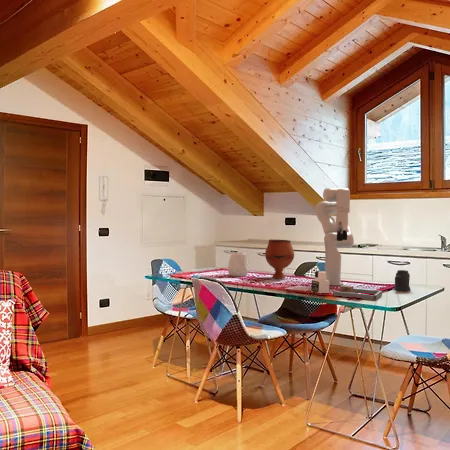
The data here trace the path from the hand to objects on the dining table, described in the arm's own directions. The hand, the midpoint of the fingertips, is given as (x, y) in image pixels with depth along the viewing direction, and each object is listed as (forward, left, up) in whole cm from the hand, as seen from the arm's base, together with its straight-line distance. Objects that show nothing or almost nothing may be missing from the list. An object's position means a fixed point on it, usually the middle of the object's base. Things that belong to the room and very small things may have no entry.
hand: (341, 240), depth 283 cm
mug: (+30, +18, -28) cm, 45 cm away
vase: (-75, +19, -28) cm, 82 cm away
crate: (+7, -14, -28) cm, 32 cm away
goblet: (-48, +25, -28) cm, 61 cm away
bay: (+13, -14, -28) cm, 34 cm away
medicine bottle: (-7, -16, -28) cm, 33 cm away
